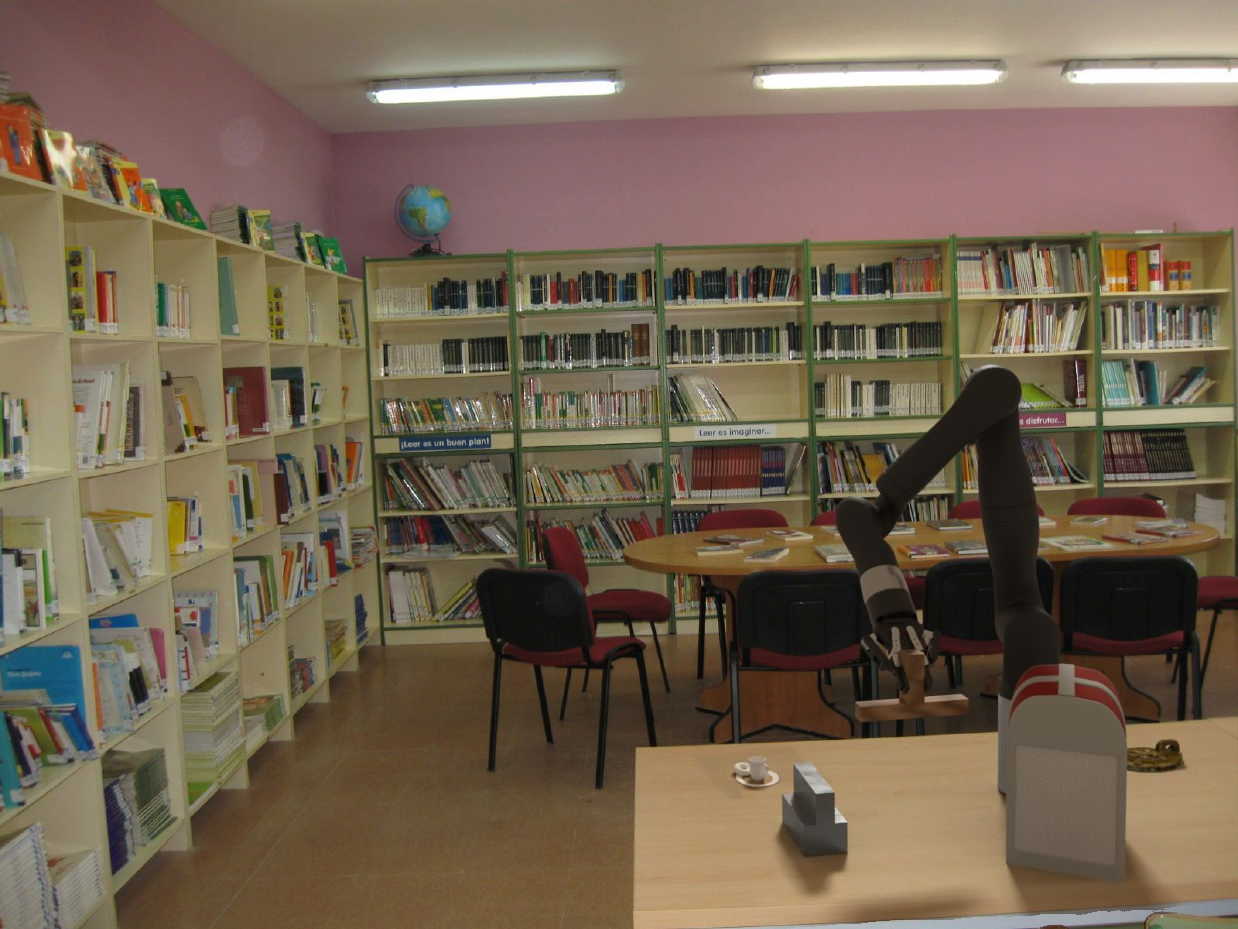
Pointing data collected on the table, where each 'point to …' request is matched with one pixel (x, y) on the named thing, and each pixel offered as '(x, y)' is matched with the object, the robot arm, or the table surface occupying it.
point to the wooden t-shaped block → (912, 697)
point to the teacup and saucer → (755, 771)
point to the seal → (1155, 757)
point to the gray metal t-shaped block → (813, 814)
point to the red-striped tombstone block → (1066, 773)
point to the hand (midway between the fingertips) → (917, 690)
